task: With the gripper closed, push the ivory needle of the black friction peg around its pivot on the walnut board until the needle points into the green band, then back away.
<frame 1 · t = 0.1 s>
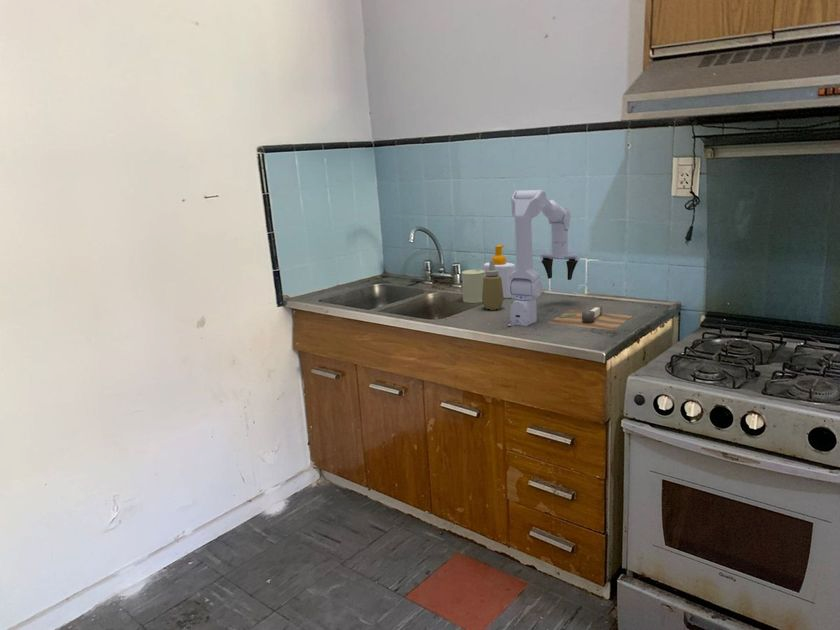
hand: (559, 278, 229), 10 cm above the counter, tool pointing down, fingers open, 7 cm apart
soap bottle: (499, 296, 253), on the counter
squeeze bottle: (493, 309, 233), on the counter
can: (474, 300, 248), on the counter
board: (590, 322, 207), on the counter
peg: (593, 313, 207), point 3 cm above the counter, hinge at 0.0°
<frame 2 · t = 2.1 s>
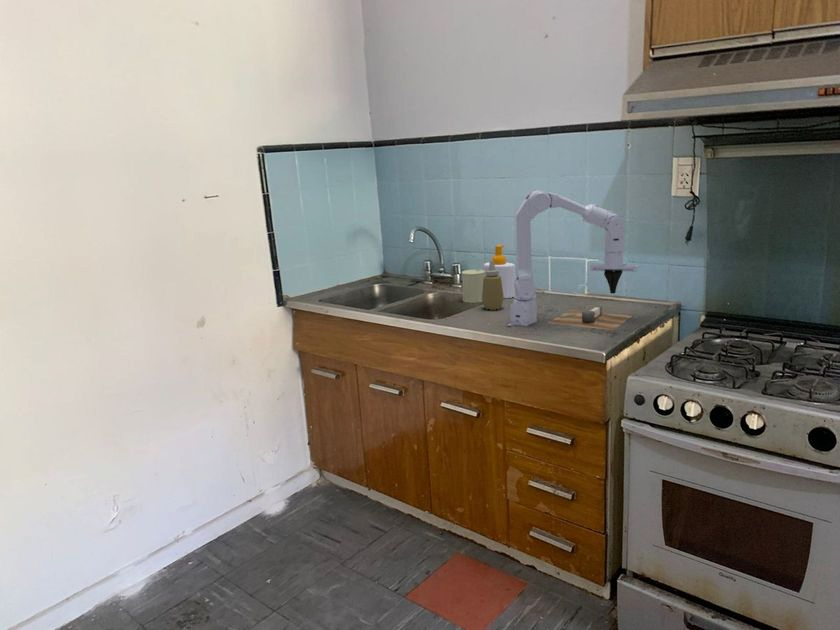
hand: (613, 292, 206), 9 cm above the counter, tool pointing down, fingers closed
nothing on the counter moved.
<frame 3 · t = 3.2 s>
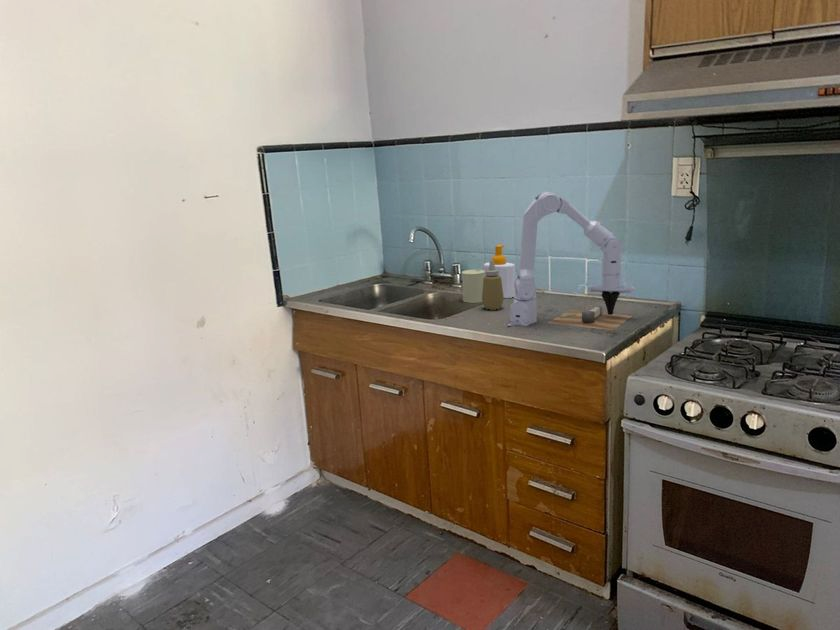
hand: (610, 313, 208), 2 cm above the counter, tool pointing down, fingers closed
nothing on the counter moved.
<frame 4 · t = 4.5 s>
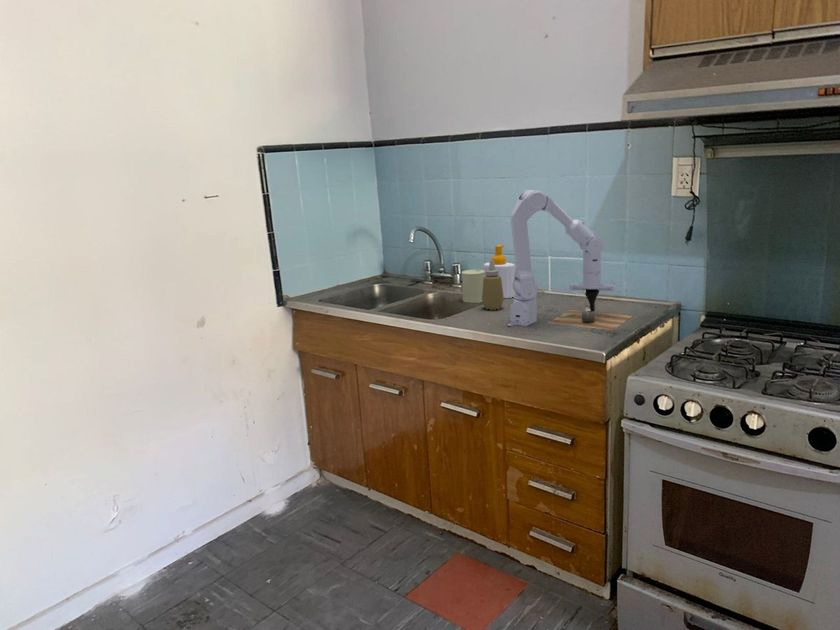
hand: (592, 311, 212), 2 cm above the counter, tool pointing down, fingers closed, pressing on peg
peg: (588, 313, 208), point 3 cm above the counter, hinge at 21.6°, touching gripper
everything else where it was.
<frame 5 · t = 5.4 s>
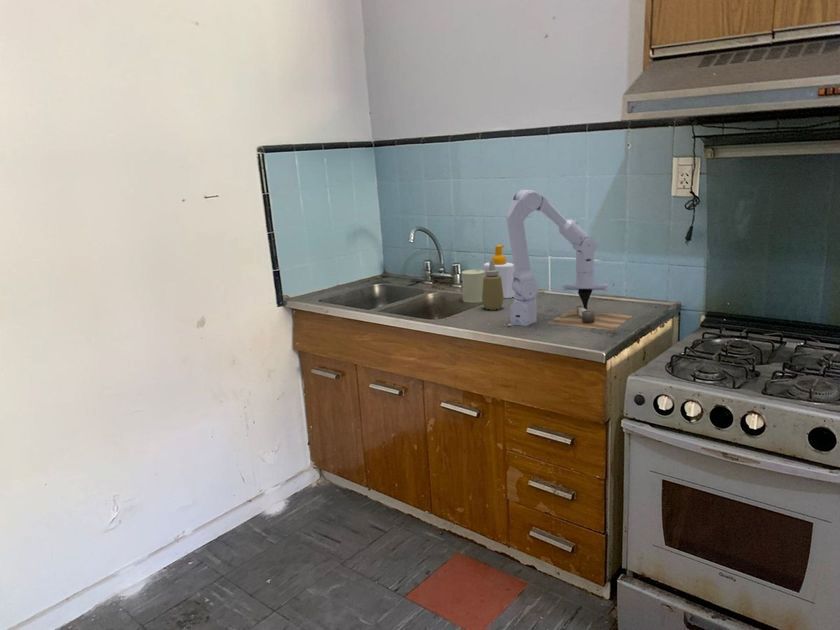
hand: (585, 310, 213), 2 cm above the counter, tool pointing down, fingers closed, pressing on peg
peg: (584, 313, 208), point 3 cm above the counter, hinge at 37.2°, touching gripper
everything else where it was.
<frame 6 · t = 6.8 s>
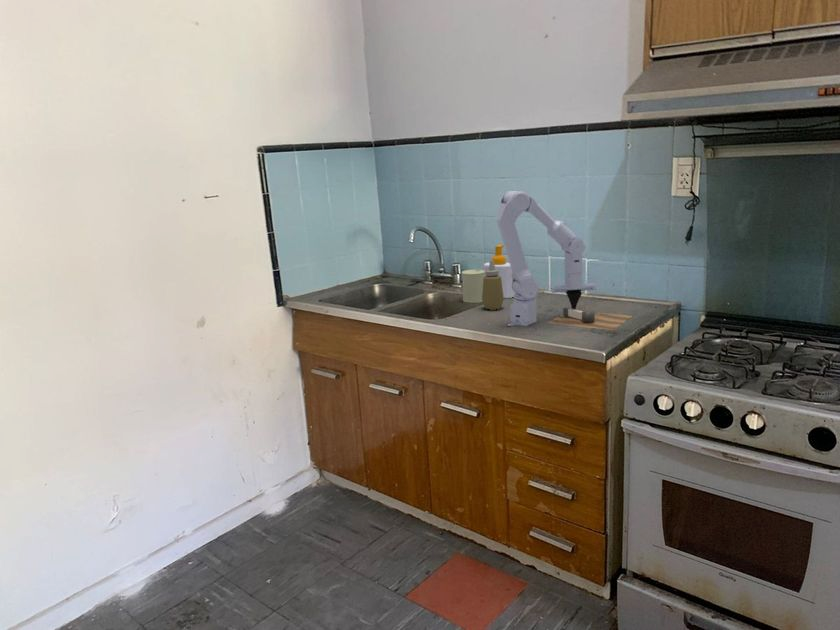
hand: (573, 312, 212), 2 cm above the counter, tool pointing down, fingers closed, pressing on peg
peg: (578, 314, 208), point 3 cm above the counter, hinge at 65.6°, touching gripper
everything else where it was.
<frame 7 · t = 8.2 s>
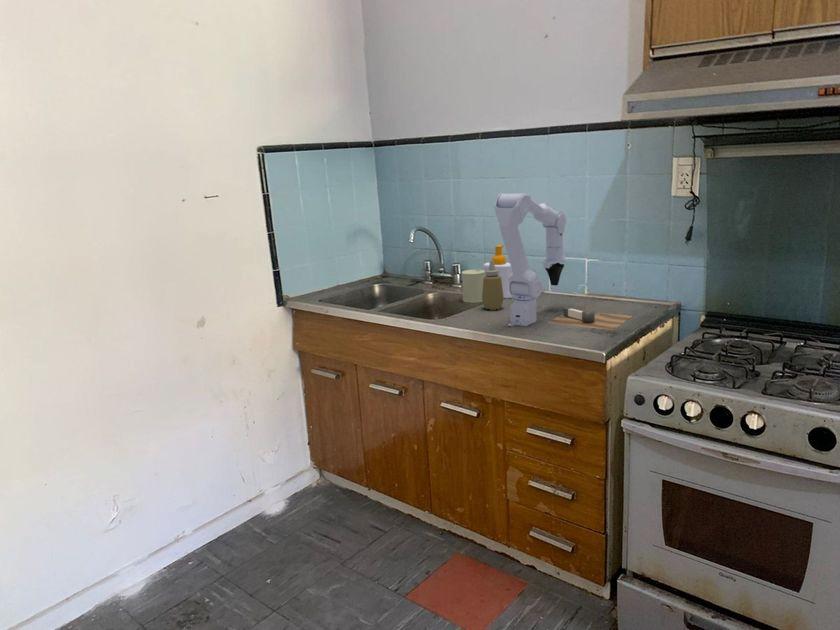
hand: (554, 285, 220), 10 cm above the counter, tool pointing down, fingers closed
peg: (578, 314, 208), point 3 cm above the counter, hinge at 65.8°
everything else where it was.
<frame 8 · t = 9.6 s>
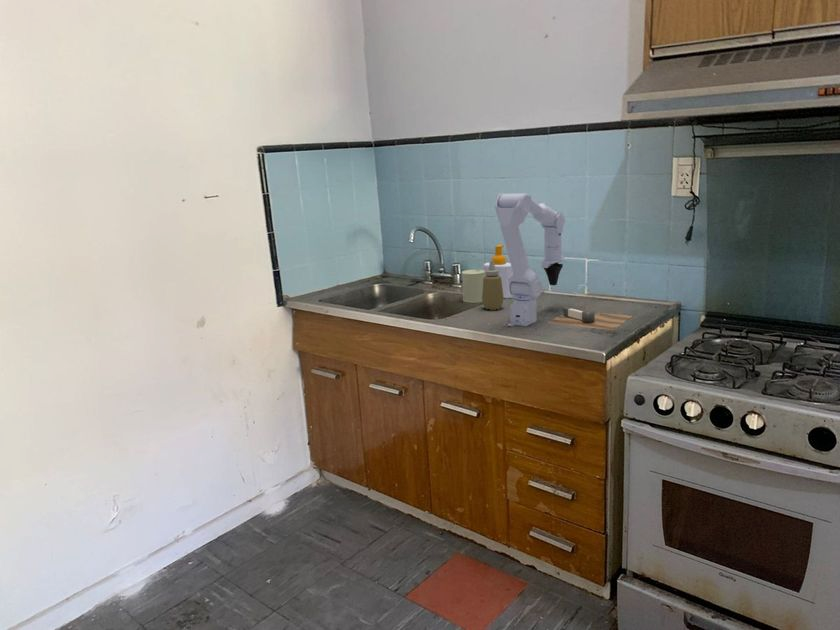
hand: (553, 284, 221), 10 cm above the counter, tool pointing down, fingers closed
nothing on the counter moved.
at the end: peg at +66° (first picture: +0°) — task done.
